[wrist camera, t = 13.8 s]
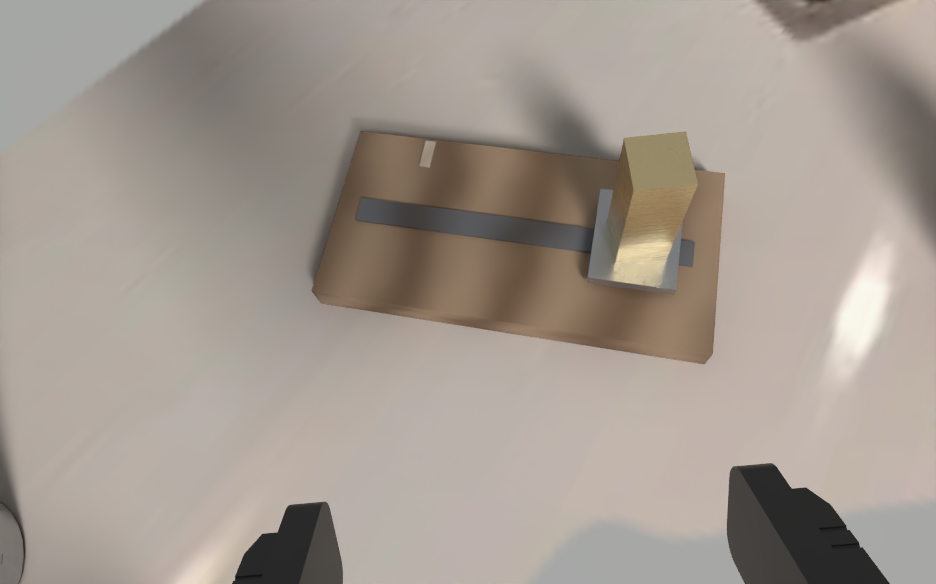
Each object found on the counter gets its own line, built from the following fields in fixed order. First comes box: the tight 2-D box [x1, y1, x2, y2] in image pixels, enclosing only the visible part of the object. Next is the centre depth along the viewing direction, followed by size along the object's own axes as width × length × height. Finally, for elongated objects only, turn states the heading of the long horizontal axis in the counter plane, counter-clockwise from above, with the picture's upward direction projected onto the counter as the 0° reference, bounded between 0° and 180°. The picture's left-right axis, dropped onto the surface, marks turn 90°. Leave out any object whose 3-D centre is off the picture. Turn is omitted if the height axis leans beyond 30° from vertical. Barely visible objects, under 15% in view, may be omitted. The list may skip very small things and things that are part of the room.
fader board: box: [312, 131, 725, 364], centre depth 43 cm, size 24×12×2 cm, turn 79°
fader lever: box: [587, 132, 698, 295], centre depth 36 cm, size 5×6×9 cm
